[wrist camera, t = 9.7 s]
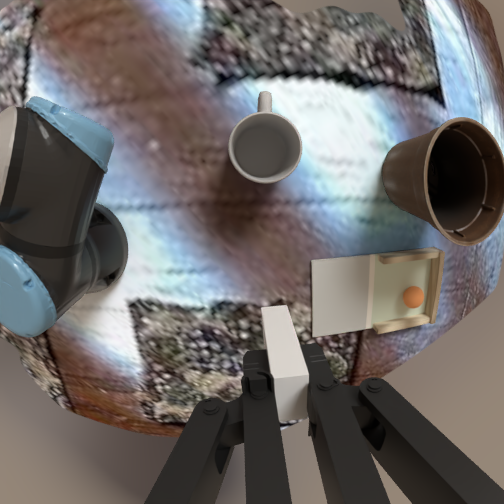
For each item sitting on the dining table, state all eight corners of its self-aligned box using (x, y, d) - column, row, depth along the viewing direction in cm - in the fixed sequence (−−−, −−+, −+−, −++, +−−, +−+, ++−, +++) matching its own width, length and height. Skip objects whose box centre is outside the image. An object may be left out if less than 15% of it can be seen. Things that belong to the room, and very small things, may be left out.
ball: (402, 312, 47) (423, 313, 46) (404, 295, 46) (426, 295, 44) (401, 298, 51) (421, 298, 49) (403, 281, 49) (424, 281, 47)
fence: (371, 326, 51) (378, 335, 48) (376, 253, 47) (385, 259, 44) (426, 315, 51) (434, 323, 48) (434, 246, 48) (444, 252, 44)
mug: (287, 181, 44) (302, 185, 33) (230, 180, 44) (226, 183, 33) (289, 104, 41) (304, 85, 30) (232, 102, 41) (229, 81, 30)
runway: (312, 335, 51) (312, 337, 51) (311, 260, 47) (311, 261, 47) (426, 315, 51) (427, 316, 51) (434, 246, 48) (436, 247, 47)
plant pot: (352, 150, 43) (403, 144, 27) (423, 114, 41) (484, 102, 26) (392, 239, 47) (447, 269, 31) (456, 197, 45) (517, 211, 30)
